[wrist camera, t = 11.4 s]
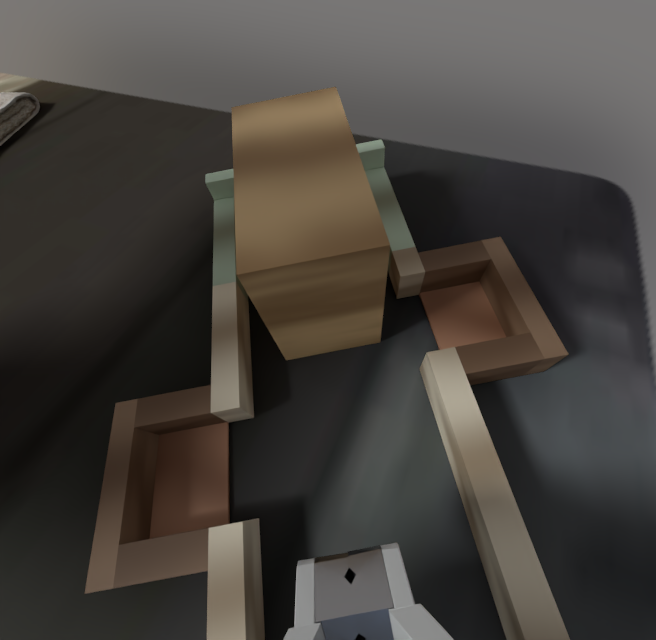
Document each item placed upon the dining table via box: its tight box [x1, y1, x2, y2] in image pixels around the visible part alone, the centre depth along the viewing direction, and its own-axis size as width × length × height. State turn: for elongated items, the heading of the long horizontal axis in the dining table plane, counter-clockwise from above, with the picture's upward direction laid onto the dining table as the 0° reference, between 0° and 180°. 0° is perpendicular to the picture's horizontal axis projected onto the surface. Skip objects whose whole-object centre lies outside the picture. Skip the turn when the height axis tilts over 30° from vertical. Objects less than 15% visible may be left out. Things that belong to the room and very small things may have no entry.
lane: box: [85, 167, 570, 640], centre depth 19 cm, size 27×23×2 cm
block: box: [232, 87, 390, 360], centre depth 19 cm, size 12×6×9 cm, turn 9°
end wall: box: [205, 140, 385, 200], centre depth 25 cm, size 1×13×4 cm, turn 100°
